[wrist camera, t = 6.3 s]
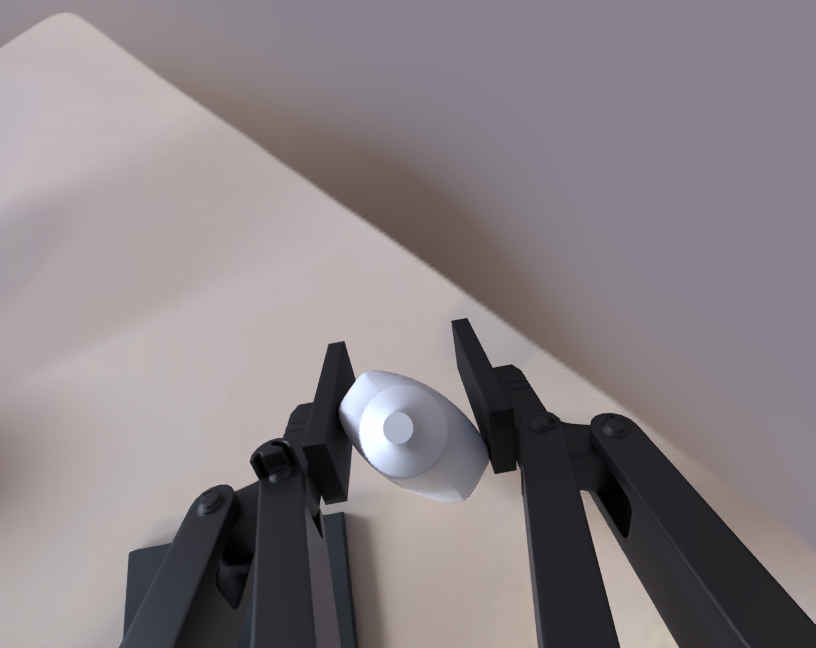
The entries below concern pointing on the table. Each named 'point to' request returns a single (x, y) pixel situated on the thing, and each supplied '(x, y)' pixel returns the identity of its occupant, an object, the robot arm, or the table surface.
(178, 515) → the table surface
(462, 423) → the eye dropper bottle
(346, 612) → the mat
